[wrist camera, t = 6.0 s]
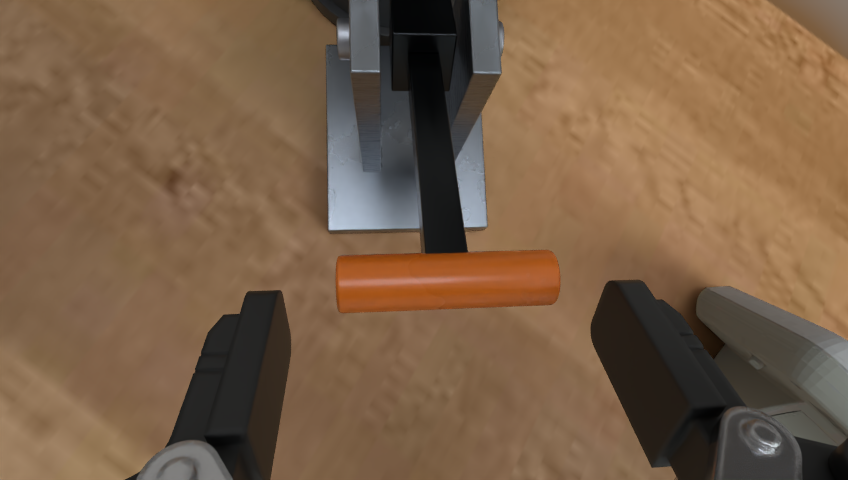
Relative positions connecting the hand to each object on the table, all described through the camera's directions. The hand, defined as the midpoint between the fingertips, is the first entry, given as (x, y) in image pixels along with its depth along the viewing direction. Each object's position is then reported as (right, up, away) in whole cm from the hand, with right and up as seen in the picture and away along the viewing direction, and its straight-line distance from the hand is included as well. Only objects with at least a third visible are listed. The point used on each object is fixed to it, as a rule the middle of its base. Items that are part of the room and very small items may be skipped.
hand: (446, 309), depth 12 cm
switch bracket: (-2, +8, +17) cm, 18 cm away
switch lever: (0, +5, +4) cm, 6 cm away
